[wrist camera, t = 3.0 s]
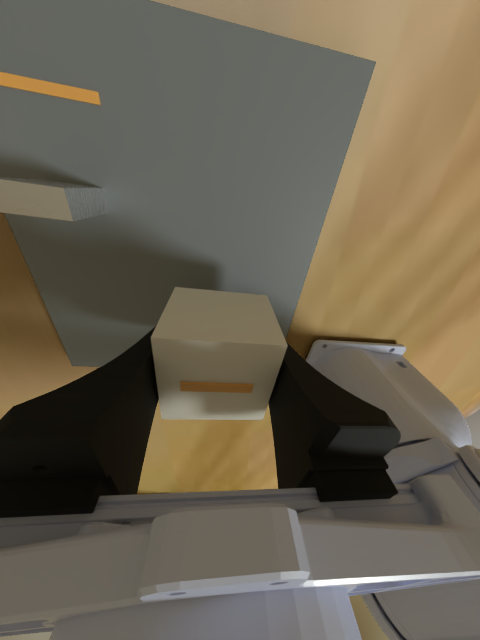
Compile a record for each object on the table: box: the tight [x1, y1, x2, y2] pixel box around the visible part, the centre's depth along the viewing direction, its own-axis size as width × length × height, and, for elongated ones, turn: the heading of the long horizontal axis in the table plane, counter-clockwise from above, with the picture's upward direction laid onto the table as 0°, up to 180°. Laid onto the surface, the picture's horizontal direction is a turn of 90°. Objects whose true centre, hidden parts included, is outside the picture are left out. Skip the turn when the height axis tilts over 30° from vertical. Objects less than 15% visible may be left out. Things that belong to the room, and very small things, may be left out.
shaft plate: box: [0, 0, 376, 367], centre depth 12 cm, size 18×20×4 cm
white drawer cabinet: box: [151, 287, 288, 420], centre depth 11 cm, size 5×5×5 cm
